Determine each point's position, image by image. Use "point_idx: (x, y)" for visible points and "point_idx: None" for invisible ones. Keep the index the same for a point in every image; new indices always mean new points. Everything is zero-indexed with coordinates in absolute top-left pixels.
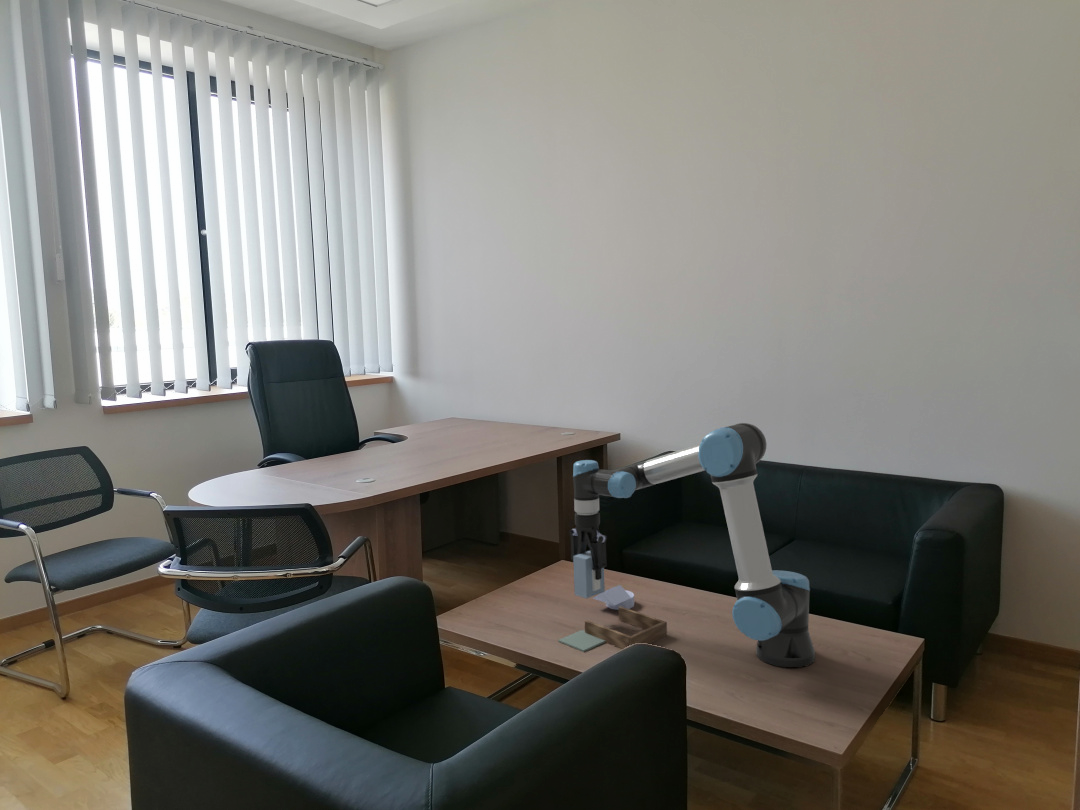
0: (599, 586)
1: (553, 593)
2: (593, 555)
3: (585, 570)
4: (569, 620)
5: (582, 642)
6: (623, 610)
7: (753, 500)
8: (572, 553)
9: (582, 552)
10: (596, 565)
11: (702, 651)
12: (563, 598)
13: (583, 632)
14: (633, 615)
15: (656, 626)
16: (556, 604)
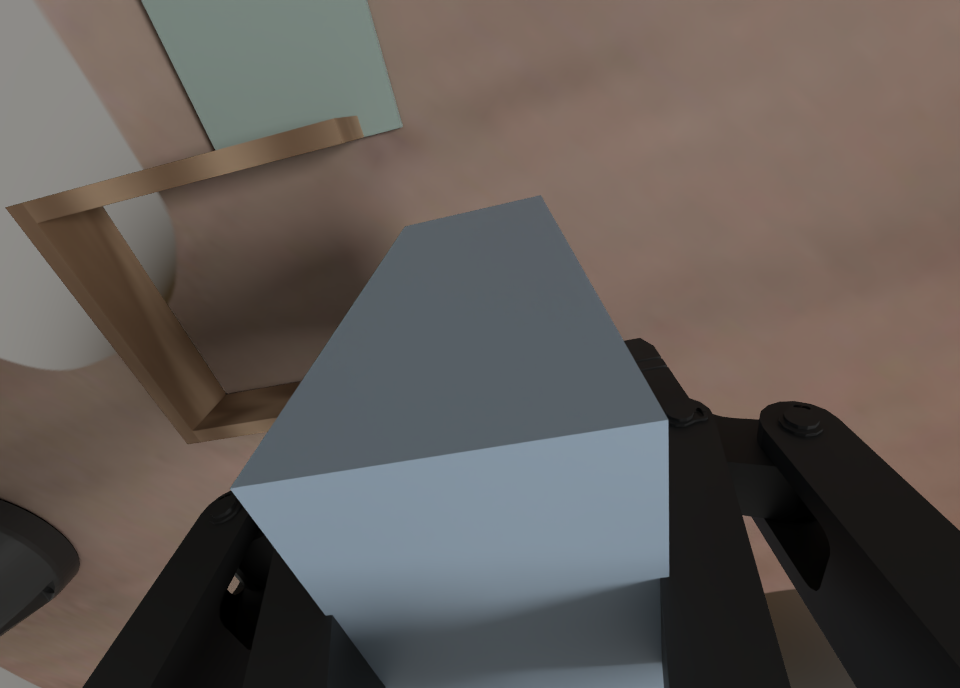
0: None
1: (935, 304)
2: (262, 667)
3: (331, 341)
4: (578, 157)
5: (226, 4)
6: None
7: None
8: (891, 519)
9: (663, 638)
10: None
11: (53, 413)
12: (835, 307)
13: (363, 109)
14: None
15: (146, 389)
16: (811, 229)
